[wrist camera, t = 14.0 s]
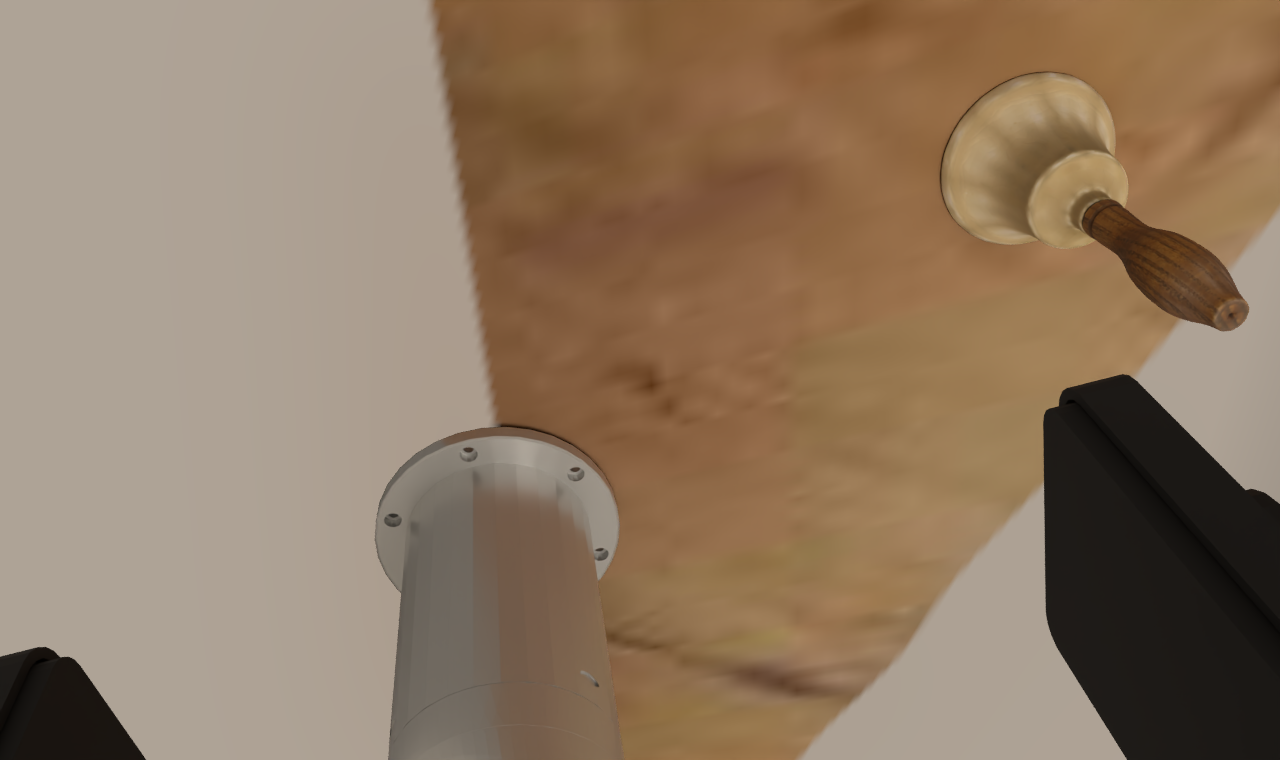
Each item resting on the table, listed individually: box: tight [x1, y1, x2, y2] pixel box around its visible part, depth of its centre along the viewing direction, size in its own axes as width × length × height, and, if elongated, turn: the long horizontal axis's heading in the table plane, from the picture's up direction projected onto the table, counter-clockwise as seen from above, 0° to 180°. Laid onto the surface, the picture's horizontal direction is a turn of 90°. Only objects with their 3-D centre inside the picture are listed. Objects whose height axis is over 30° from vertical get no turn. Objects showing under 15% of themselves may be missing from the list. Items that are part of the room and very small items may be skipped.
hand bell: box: [941, 72, 1249, 331], centre depth 44 cm, size 8×8×16 cm
